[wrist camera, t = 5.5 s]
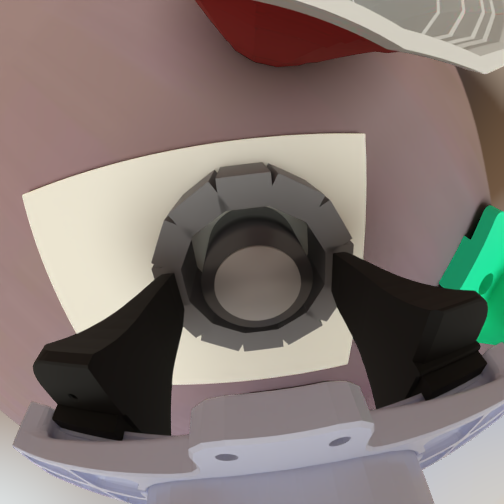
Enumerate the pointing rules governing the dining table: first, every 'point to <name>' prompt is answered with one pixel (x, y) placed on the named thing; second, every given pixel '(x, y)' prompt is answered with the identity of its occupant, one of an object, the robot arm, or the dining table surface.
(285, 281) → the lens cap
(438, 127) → the dining table surface
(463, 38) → the plastic cup
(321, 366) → the board
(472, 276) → the camera mount
